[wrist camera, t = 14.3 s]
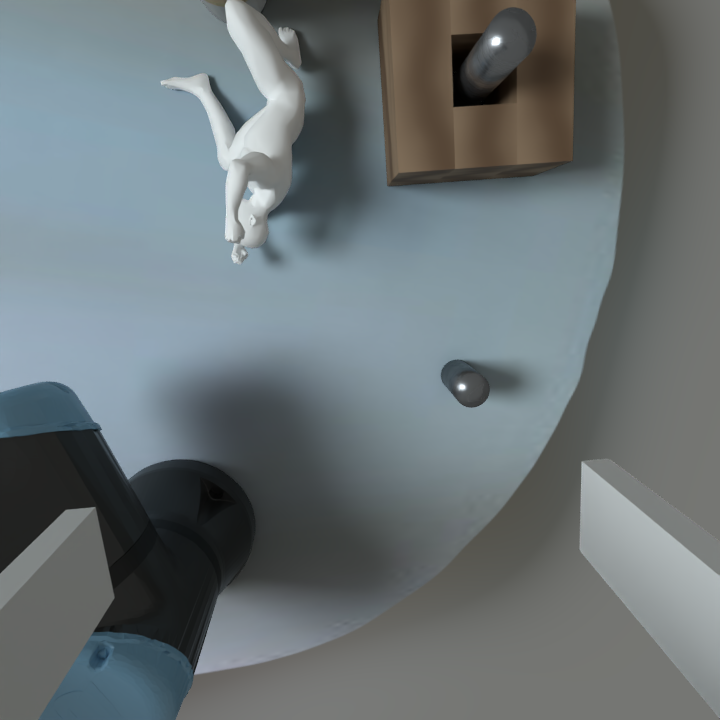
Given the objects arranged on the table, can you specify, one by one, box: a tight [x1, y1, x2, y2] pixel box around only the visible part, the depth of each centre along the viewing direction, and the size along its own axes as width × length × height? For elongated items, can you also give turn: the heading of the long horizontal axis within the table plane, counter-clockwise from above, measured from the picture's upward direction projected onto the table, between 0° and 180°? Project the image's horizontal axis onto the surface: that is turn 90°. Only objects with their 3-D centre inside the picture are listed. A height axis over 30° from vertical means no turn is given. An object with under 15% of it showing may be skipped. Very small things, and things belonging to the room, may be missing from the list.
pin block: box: [378, 0, 576, 186], centre depth 41 cm, size 14×14×8 cm
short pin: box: [441, 360, 490, 407], centre depth 48 cm, size 3×3×6 cm
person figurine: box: [161, 0, 306, 265], centre depth 41 cm, size 13×13×18 cm
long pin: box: [452, 7, 537, 107], centre depth 38 cm, size 3×3×14 cm
